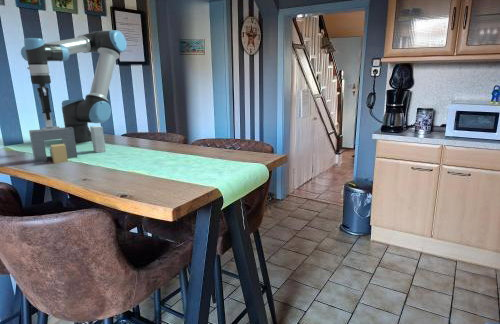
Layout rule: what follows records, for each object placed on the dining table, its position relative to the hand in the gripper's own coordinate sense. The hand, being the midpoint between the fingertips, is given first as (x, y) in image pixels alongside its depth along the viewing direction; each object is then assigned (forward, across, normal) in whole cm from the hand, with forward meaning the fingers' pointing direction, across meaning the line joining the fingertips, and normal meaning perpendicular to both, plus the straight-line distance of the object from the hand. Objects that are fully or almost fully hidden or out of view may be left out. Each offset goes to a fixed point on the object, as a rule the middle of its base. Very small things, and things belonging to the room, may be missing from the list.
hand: (49, 126), depth 157 cm
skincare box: (+13, +12, +18) cm, 25 cm away
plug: (+12, +17, -1) cm, 21 cm away
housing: (+12, +16, -1) cm, 20 cm away
